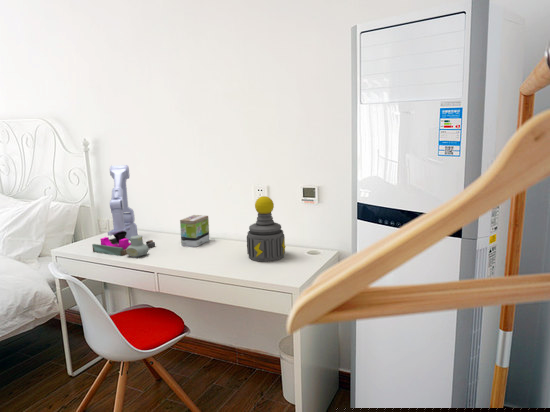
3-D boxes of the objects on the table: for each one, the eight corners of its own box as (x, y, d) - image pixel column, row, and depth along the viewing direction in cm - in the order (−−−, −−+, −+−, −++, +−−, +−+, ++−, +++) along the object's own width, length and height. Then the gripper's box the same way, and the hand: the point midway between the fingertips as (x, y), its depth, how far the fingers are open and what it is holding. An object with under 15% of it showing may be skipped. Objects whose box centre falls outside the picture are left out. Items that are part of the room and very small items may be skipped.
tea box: (197, 247, 231) (195, 220, 228) (181, 246, 234) (179, 219, 231) (210, 240, 245) (208, 214, 242) (194, 239, 248) (192, 214, 245)
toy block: (132, 251, 229) (131, 237, 227) (124, 254, 223) (123, 240, 222) (110, 249, 234) (108, 235, 232) (101, 252, 228) (100, 238, 227)
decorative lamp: (277, 263, 199) (275, 200, 193) (240, 260, 205) (237, 199, 200) (290, 252, 216) (288, 193, 210) (256, 249, 222) (253, 192, 217)
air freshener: (124, 257, 218) (122, 238, 216) (134, 252, 225) (132, 234, 224) (141, 258, 214) (139, 239, 212) (151, 254, 221) (150, 235, 220)
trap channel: (120, 240, 251) (119, 233, 250) (158, 245, 238) (158, 238, 237) (87, 250, 231) (87, 243, 230) (127, 256, 218) (127, 249, 217)
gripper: (113, 224, 222) (116, 249, 225) (134, 218, 235) (136, 242, 237) (103, 223, 225) (106, 248, 228) (124, 217, 238) (127, 241, 240)
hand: (121, 245), depth 233 cm, fingers closed
